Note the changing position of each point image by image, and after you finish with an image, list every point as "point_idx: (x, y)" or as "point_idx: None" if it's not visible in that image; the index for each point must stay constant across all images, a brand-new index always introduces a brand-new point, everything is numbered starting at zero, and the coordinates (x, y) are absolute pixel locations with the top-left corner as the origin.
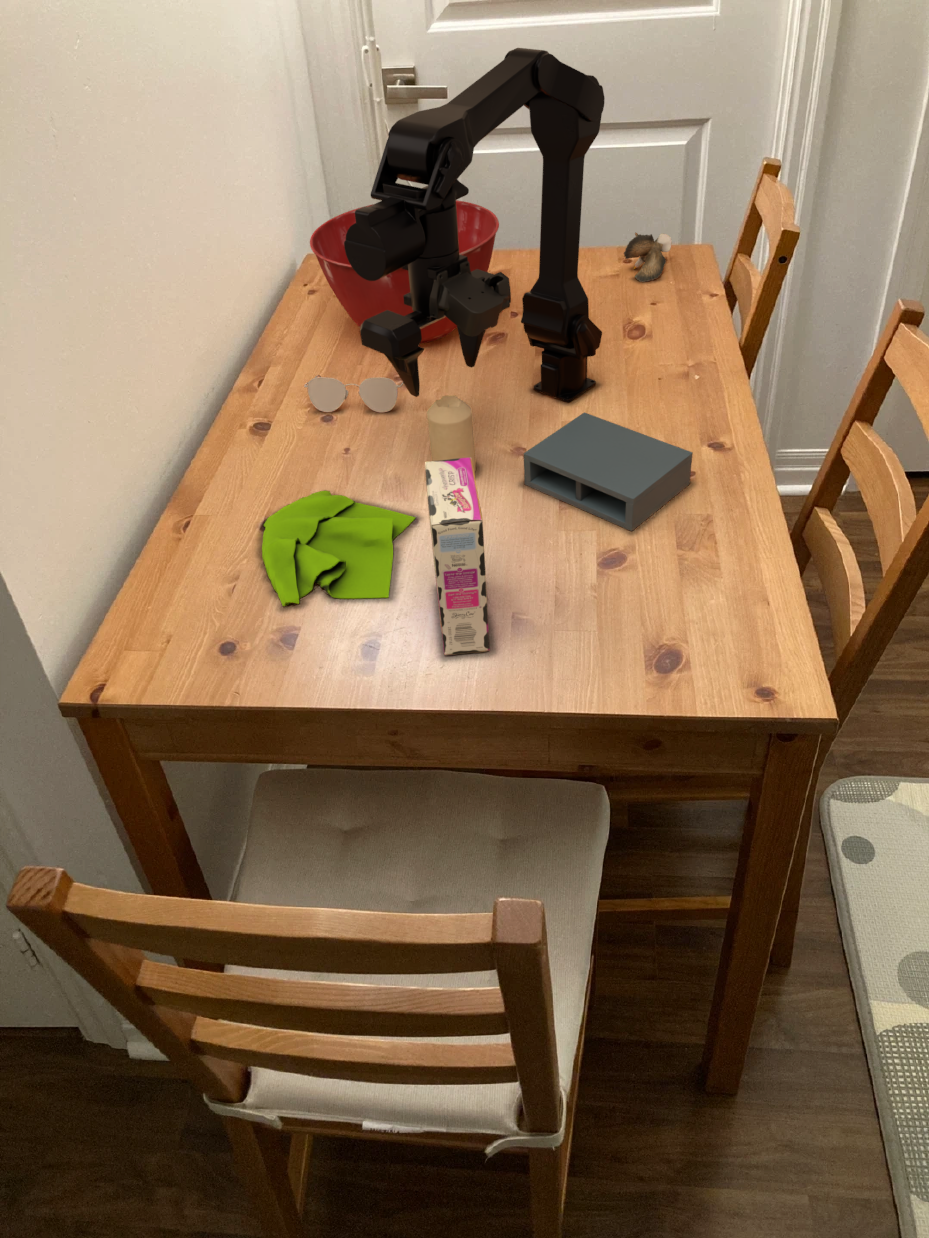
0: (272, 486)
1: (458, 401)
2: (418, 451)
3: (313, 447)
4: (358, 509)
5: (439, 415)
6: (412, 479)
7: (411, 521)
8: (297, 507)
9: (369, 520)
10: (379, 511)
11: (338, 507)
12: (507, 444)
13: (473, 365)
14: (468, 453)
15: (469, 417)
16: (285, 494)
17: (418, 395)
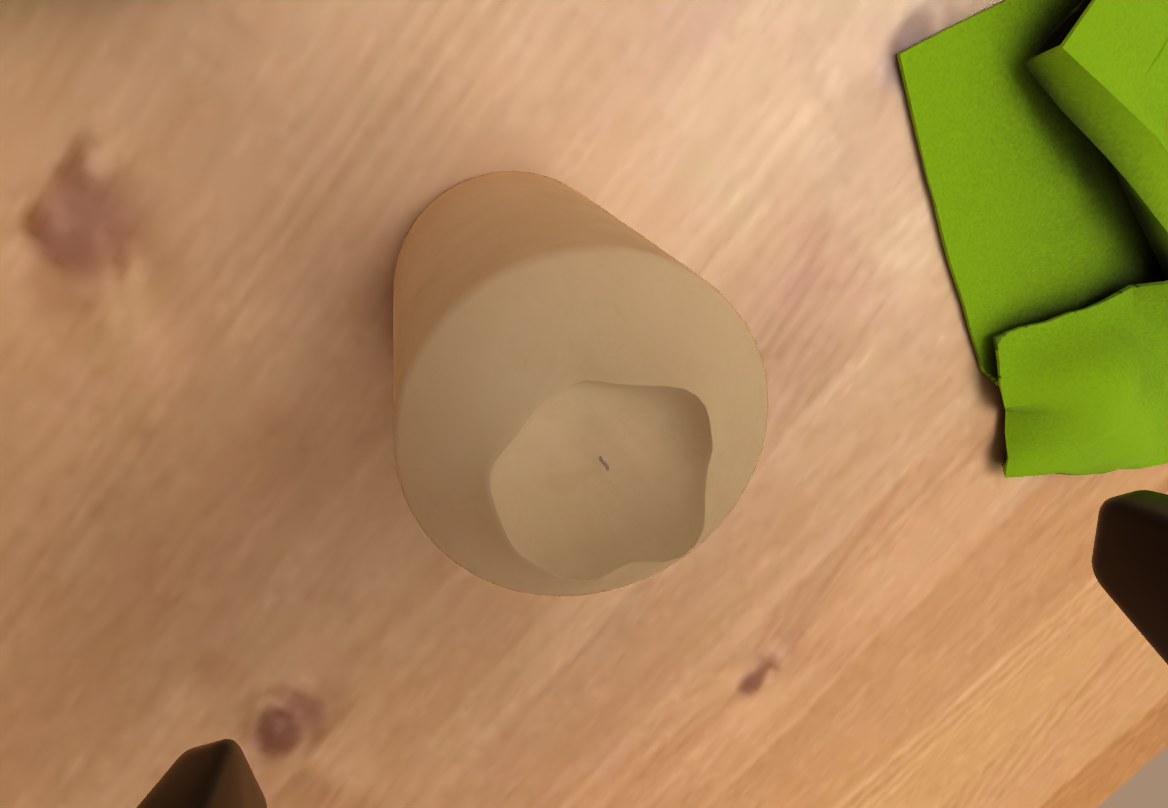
0: (1060, 610)
1: (503, 468)
2: None
3: (823, 748)
4: (1005, 290)
5: (740, 388)
6: None
7: (935, 36)
8: (1163, 422)
9: (1139, 106)
10: (965, 217)
11: (1077, 330)
12: (109, 333)
13: (204, 757)
14: (503, 197)
15: (498, 268)
16: (1070, 546)
17: (1132, 494)
